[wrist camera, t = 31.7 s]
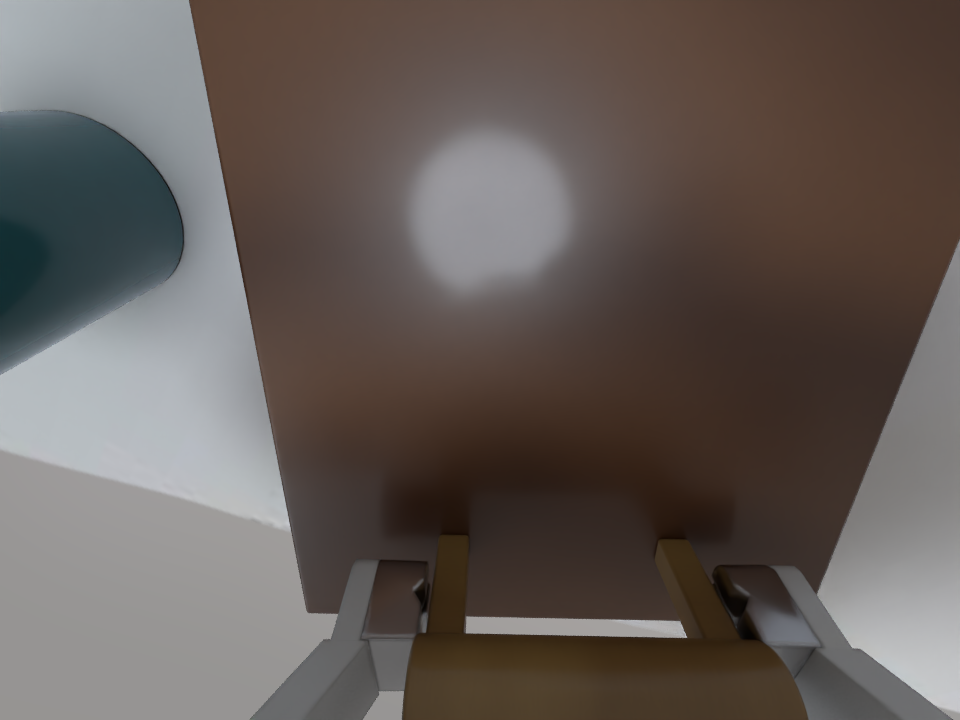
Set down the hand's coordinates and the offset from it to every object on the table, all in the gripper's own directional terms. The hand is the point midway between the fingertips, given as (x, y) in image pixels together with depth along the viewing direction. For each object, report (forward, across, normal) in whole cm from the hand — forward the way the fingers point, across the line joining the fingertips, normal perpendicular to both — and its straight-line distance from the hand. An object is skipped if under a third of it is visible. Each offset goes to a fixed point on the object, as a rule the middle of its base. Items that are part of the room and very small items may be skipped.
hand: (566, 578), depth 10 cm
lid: (+2, 0, -6) cm, 6 cm away
